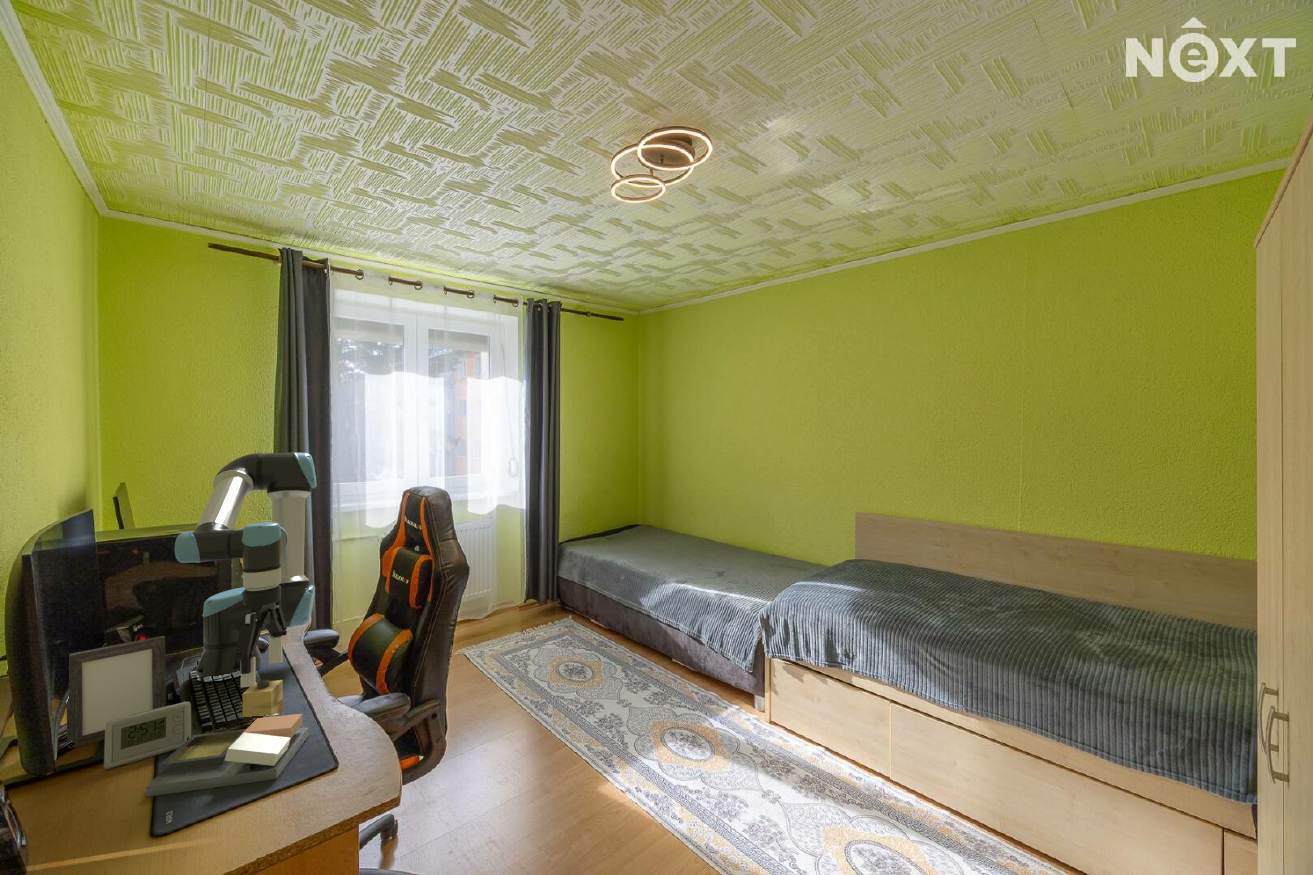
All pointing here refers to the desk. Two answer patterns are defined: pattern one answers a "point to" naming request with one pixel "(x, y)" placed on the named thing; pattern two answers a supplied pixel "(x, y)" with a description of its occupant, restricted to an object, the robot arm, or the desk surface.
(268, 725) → the orange tan rectangular block
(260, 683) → the tan wooden block
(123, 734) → the digital clock
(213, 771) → the panel
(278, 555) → the robot arm
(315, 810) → the desk surface
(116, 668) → the picture frame
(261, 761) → the rocker plain
